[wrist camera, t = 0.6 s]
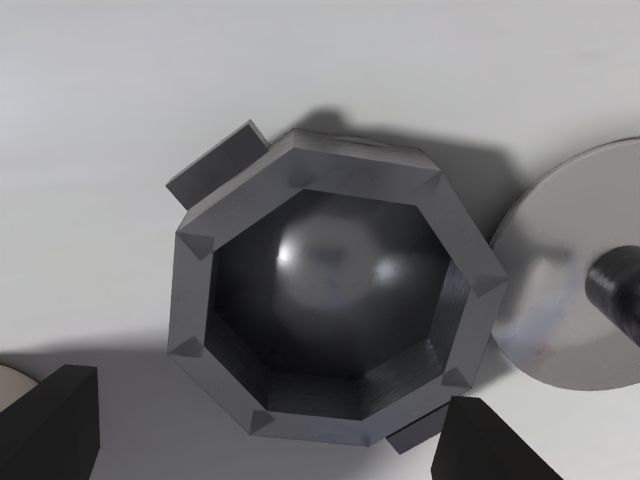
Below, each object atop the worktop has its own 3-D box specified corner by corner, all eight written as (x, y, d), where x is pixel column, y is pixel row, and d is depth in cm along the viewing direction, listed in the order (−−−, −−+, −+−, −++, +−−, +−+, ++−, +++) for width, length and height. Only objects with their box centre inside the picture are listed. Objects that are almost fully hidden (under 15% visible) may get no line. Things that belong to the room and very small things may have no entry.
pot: (532, 322, 21) (568, 366, 19) (314, 448, 23) (317, 504, 21) (351, 36, 17) (363, 38, 14) (101, 225, 19) (67, 259, 16)
